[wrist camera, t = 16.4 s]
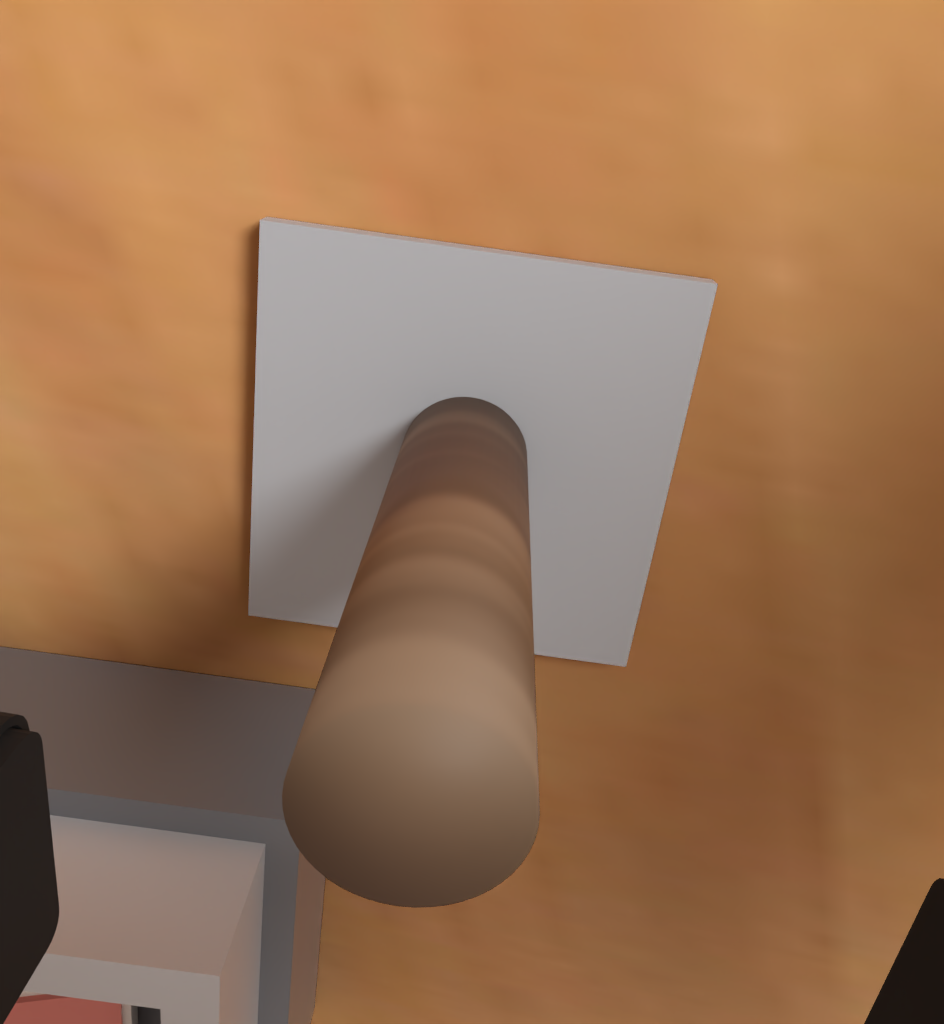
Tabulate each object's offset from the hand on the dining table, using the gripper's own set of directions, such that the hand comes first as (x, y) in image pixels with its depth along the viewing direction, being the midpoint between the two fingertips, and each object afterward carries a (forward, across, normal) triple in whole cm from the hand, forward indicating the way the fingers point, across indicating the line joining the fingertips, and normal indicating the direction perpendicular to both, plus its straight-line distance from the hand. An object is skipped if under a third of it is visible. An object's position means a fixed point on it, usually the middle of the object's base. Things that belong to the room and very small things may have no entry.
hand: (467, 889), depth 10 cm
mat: (+14, +1, +1) cm, 14 cm away
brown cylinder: (+13, +1, 0) cm, 13 cm away
